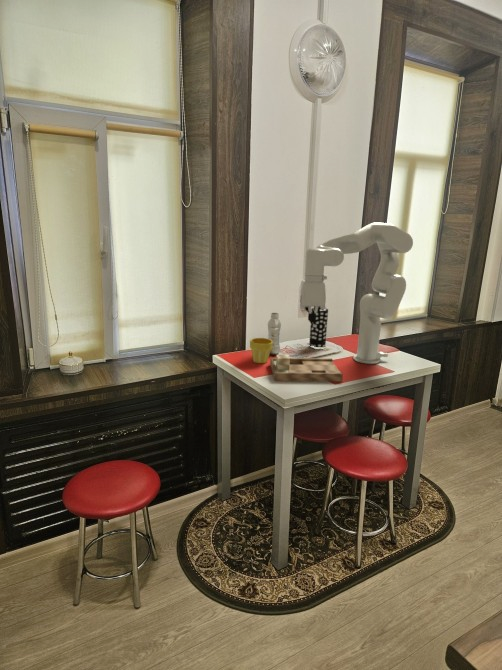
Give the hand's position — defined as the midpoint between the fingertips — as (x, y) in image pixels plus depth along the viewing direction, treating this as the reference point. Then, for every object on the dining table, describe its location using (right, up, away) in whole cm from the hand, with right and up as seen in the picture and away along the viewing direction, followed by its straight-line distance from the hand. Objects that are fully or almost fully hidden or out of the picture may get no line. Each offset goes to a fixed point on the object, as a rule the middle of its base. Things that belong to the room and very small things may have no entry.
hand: (311, 322), depth 185 cm
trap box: (-2, -22, +4) cm, 22 cm away
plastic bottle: (-15, -15, +29) cm, 35 cm away
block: (-12, -19, +3) cm, 23 cm away
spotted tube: (+8, -12, +41) cm, 43 cm away
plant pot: (-21, -18, +18) cm, 33 cm away
